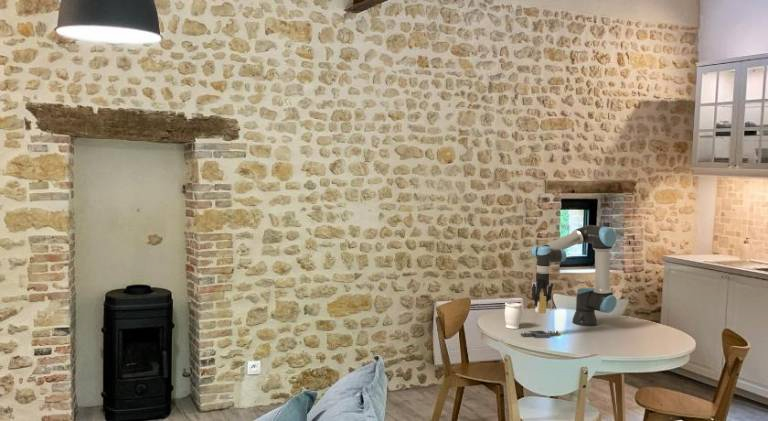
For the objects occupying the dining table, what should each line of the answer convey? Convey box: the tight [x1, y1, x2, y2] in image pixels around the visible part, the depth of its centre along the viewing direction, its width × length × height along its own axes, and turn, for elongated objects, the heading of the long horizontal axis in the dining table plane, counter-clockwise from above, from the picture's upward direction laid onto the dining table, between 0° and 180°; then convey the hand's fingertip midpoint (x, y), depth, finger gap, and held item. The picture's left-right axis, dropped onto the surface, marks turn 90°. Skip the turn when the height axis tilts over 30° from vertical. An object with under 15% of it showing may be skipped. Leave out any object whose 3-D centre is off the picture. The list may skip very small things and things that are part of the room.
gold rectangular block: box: [538, 294, 547, 314], centre depth 395 cm, size 4×4×10 cm
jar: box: [504, 301, 523, 330], centre depth 414 cm, size 11×10×15 cm
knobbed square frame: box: [520, 330, 560, 339], centre depth 396 cm, size 24×9×2 cm, turn 106°
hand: (540, 311), depth 395 cm, fingers closed on gold rectangular block, 4 cm apart
